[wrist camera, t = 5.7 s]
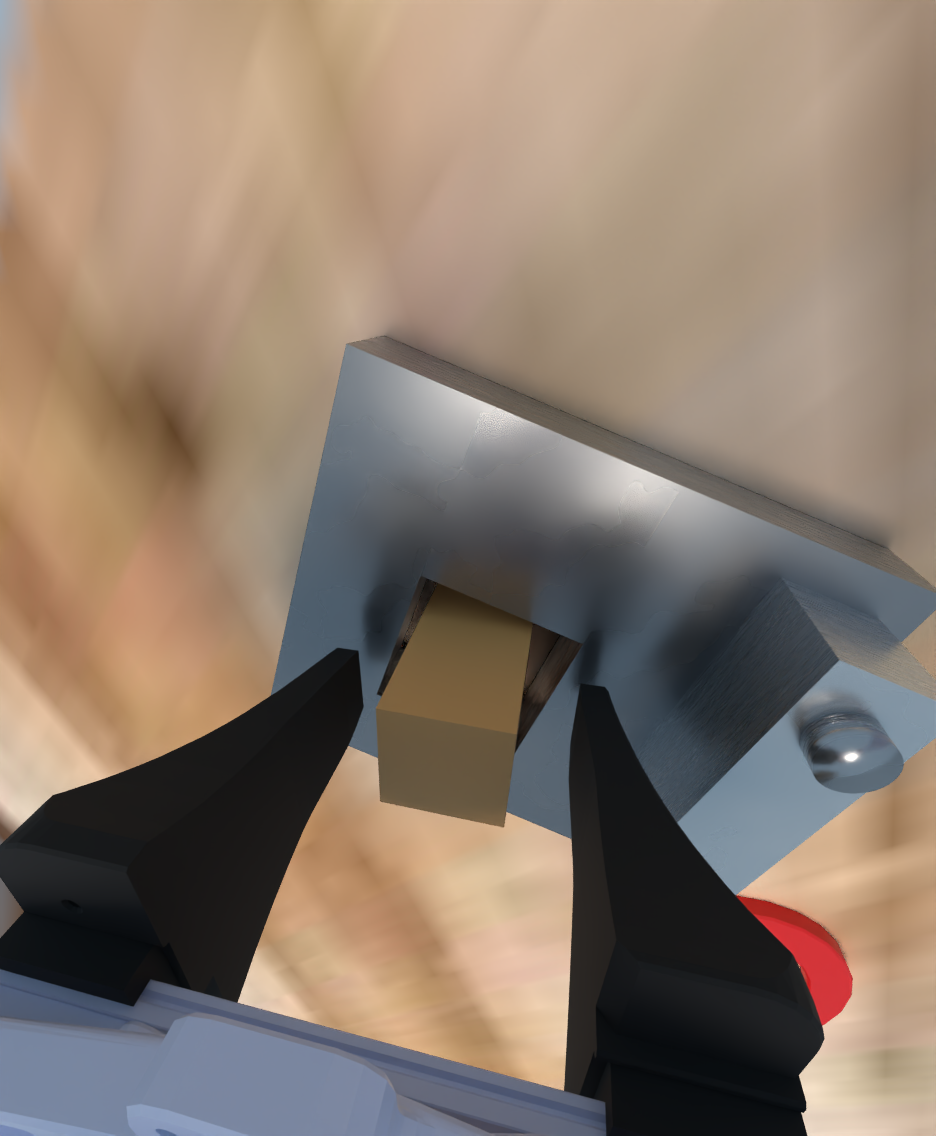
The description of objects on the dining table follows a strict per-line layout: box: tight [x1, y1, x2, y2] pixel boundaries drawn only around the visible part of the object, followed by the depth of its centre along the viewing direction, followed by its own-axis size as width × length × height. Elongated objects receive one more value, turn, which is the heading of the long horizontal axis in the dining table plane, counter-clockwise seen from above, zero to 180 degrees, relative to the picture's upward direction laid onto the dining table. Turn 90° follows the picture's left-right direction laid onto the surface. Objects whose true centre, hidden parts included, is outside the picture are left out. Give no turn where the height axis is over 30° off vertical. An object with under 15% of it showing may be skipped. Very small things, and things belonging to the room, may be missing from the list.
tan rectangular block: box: [376, 583, 533, 827], centre depth 14 cm, size 3×3×6 cm
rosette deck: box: [271, 336, 936, 895], centre depth 13 cm, size 14×12×6 cm
